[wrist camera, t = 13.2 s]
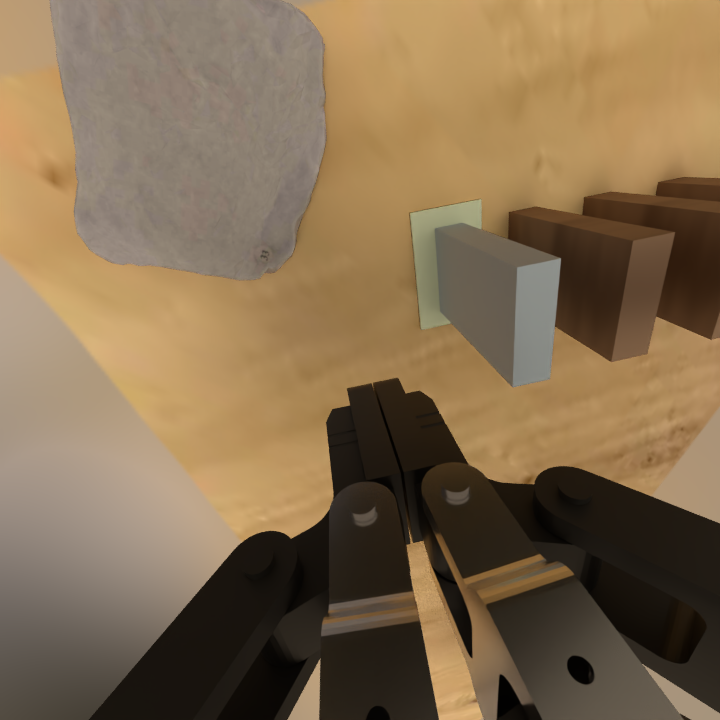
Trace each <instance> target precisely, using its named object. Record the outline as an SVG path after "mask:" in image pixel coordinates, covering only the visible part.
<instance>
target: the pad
mask: <svg viewBox="0 0 720 720" xmlns="http://www.w3.org/2000/svg"><path fill="white" fill-rule="evenodd" d="M410 222H411V233H412V243H413V254H414V264H415V275H416V285H417V296H418V307H419V317H420V328H421V330H424V329H429V328H433V327H438V326H443V325H447V324H452V323H451V322H450V321H449V320H448V319H447V318H446V317H445V316H444V315H443V314H442V313H441V312H440V301H439V286H438V270H437V255H436V240H435V228H438V227H443V226H448V225H453V224H458V223H465V224H467V225H470V226H473V227H476V228H478V229H481V230H482V208H481V199H478V200H473V201H468V202H463V203H458V204H452V205H447V206H442V207H437V208H432V209H427V210H422V211H417V212H412V213H410Z"/></svg>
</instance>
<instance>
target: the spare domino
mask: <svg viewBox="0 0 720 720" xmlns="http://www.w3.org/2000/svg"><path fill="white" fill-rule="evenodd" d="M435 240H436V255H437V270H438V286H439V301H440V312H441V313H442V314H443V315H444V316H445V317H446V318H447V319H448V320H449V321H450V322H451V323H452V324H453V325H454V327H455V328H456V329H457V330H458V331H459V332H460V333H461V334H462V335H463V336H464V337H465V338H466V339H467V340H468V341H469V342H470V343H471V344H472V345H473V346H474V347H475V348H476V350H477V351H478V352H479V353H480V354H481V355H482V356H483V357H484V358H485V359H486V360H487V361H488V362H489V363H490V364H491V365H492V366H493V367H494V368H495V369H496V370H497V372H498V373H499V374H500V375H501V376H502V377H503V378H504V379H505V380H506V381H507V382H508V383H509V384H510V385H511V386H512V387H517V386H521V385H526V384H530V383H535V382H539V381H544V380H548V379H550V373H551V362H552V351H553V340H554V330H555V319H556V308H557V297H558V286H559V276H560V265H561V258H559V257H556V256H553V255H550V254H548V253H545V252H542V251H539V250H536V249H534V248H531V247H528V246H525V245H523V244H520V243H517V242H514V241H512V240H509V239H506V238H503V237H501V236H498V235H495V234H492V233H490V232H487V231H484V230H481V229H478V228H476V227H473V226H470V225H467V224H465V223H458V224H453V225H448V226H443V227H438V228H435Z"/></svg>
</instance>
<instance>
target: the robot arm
mask: <svg viewBox="0 0 720 720" xmlns="http://www.w3.org/2000/svg"><path fill="white" fill-rule="evenodd" d="M373 388H374V389H373ZM347 391H348V396H349V401H350V406H346V407H341V408H336V409H332V411H331V413H330V415H329V417H328V420H327V422H326V425H327V434H328V444H329V453H330V463H331V472H332V482H333V491H334V497H333V501H332V503H331V506H330V509H329V511H328V512H327V514H326V515H325V517H324V518H323V519H322V520H321V521H320V522H318V523H317V524H316V525H315V526H313V527H312V528H310V529H308V530H306V531H305V532H303V533H301V534H299V535H297V536H296V537H294V538H292V539H291V538H290V537H289V536H287V535H285V534H284V533H281V532H277V531H266V532H261V533H258V534H255V535H253V536H251V537H249V538H248V539H246V540H245V541H243V542H242V543H241V544H240V545H238V547H236V549H235V550H234V551H233V552H232V553H231V554H230V555H229V557H228V558H227V559H226V560H225V561H224V562H223V564H222V565H221V566H220V567H219V568H218V570H217V571H216V572H215V573H214V574H213V575H212V576H211V578H210V579H209V580H208V581H207V582H206V583H205V585H204V586H203V587H202V588H201V589H200V590H199V592H198V593H197V594H196V595H195V596H194V597H193V599H192V600H191V601H190V602H189V603H188V604H187V606H186V607H185V608H184V609H183V610H182V611H181V613H180V614H179V615H178V616H177V617H176V619H175V620H174V621H173V622H172V623H171V624H170V625H169V627H168V628H167V629H166V630H165V631H164V632H163V634H162V635H161V636H160V637H159V638H158V639H157V641H156V642H155V643H154V644H153V645H152V646H151V648H150V649H149V650H148V651H147V652H146V654H145V655H144V656H143V657H142V658H141V659H140V661H139V662H138V663H137V664H136V665H135V666H134V668H133V669H132V670H131V671H130V672H129V673H128V675H127V676H126V677H125V678H124V679H123V680H122V682H121V683H120V684H119V685H118V686H117V688H116V689H115V690H114V691H113V692H112V693H111V695H110V696H109V697H108V698H107V699H106V700H105V701H104V703H103V704H102V705H101V706H100V707H99V708H98V710H97V711H96V712H95V713H94V714H93V715H92V717H91V718H90V719H89V720H287V719H288V717H289V715H290V714H291V712H292V710H293V708H294V706H295V704H296V702H297V701H298V699H299V697H300V695H301V693H302V691H303V689H304V687H305V685H306V684H307V682H308V680H309V678H310V676H311V674H312V672H313V671H314V669H315V667H316V665H317V663H318V661H319V659H321V660H320V710H319V720H439V717H438V712H437V707H436V702H435V696H434V691H433V686H432V681H431V676H430V670H429V665H428V660H427V655H426V649H425V644H424V639H423V634H422V629H421V623H420V618H419V613H418V608H417V604H416V601H415V597H414V592H413V586H412V581H411V576H410V566H409V559H408V553H407V546H406V545H407V544H410V537H409V530H410V534H411V537H412V541H413V543H415V542H419V541H424V544H425V547H426V550H427V553H428V557H429V565H430V572H431V575H432V578H433V580H434V583H435V585H436V588H437V590H438V593H439V595H440V598H441V600H442V603H443V605H444V608H445V610H446V613H447V615H448V618H449V620H450V623H451V625H452V628H453V630H454V633H455V635H456V638H457V640H458V643H459V645H460V648H461V650H462V653H463V655H464V658H465V660H466V663H467V666H468V669H469V672H470V675H471V679H472V683H473V687H474V691H475V694H476V698H477V701H478V704H479V707H480V710H481V713H482V715H483V718H484V720H690V719H689V718H687V717H685V716H683V715H681V714H679V713H678V711H677V710H676V709H675V707H674V706H673V705H672V703H671V702H670V701H669V699H668V698H667V697H666V695H665V694H664V693H663V691H662V690H661V689H660V688H659V686H658V685H657V683H656V682H655V681H654V679H653V678H652V677H651V675H650V674H649V673H648V671H647V670H646V669H645V667H644V666H643V665H642V664H644V665H645V666H647V667H649V668H650V669H652V670H653V671H655V672H656V673H658V674H659V675H661V676H662V677H664V678H666V679H667V680H669V681H670V682H672V683H674V684H675V685H677V686H678V687H680V688H681V689H683V690H684V691H686V692H688V693H689V694H691V695H692V696H694V697H695V698H697V699H698V700H700V701H702V702H703V703H705V704H706V705H708V706H709V707H711V708H713V709H714V710H716V711H717V712H719V713H720V523H717V522H715V521H712V520H709V519H707V518H705V517H702V516H699V515H697V514H694V513H692V512H689V511H687V510H684V509H682V508H679V507H677V506H674V505H671V504H669V503H666V502H664V501H661V500H659V499H656V498H654V497H651V496H649V495H646V494H644V493H641V492H639V491H636V490H633V489H631V488H628V487H626V486H623V485H621V484H618V483H616V482H613V481H611V480H608V479H605V478H603V477H600V476H598V475H595V474H593V473H590V472H588V471H585V470H582V469H579V468H574V467H567V466H559V467H552V468H549V469H547V470H544V471H543V472H541V473H540V474H539V475H538V477H537V478H536V480H535V484H534V485H533V484H513V483H501V482H497V481H493V480H490V479H488V478H486V477H485V475H484V474H483V473H482V472H480V471H479V470H478V469H476V468H475V467H472V466H470V465H469V464H468V463H467V461H466V459H465V457H464V456H463V454H462V452H461V450H460V448H459V447H458V445H457V443H456V441H455V439H454V438H453V436H452V434H451V432H450V430H449V429H448V427H447V425H446V424H445V422H444V420H443V418H442V416H441V414H439V411H438V409H437V407H436V405H435V403H434V402H433V400H432V399H431V398H429V397H428V396H427V395H425V394H424V393H422V392H421V391H416V392H411V393H406V394H405V392H404V389H403V387H402V385H401V383H400V381H399V379H398V378H394V379H389V380H384V381H379V382H375V383H373V386H372V384H371V383H370V384H366V385H361V386H356V387H351V388H347ZM408 527H409V529H408Z"/></svg>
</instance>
